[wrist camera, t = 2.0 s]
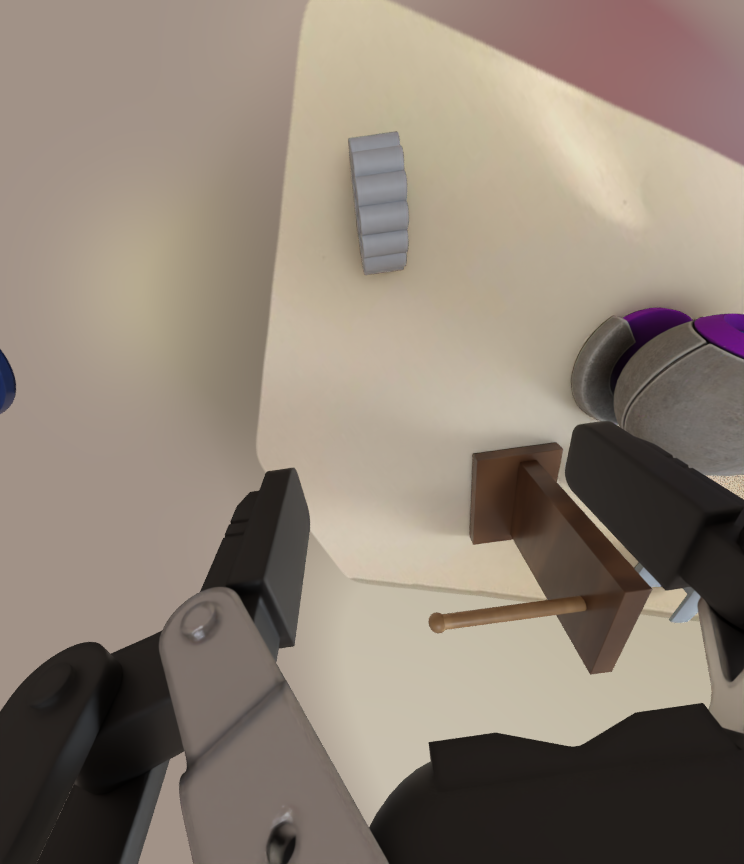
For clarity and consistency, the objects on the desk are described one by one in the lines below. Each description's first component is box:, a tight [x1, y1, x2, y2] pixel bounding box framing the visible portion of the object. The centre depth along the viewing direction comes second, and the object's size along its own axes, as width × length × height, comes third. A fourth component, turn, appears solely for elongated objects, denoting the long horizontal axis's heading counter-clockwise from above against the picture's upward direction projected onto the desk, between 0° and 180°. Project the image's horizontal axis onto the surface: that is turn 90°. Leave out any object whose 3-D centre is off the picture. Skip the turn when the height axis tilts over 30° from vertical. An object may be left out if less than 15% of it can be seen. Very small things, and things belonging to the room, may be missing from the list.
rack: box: [429, 443, 652, 674], centre depth 34 cm, size 19×14×18 cm
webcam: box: [572, 308, 744, 476], centre depth 28 cm, size 13×13×15 cm
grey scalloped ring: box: [348, 131, 409, 275], centre depth 23 cm, size 3×8×8 cm, turn 7°
